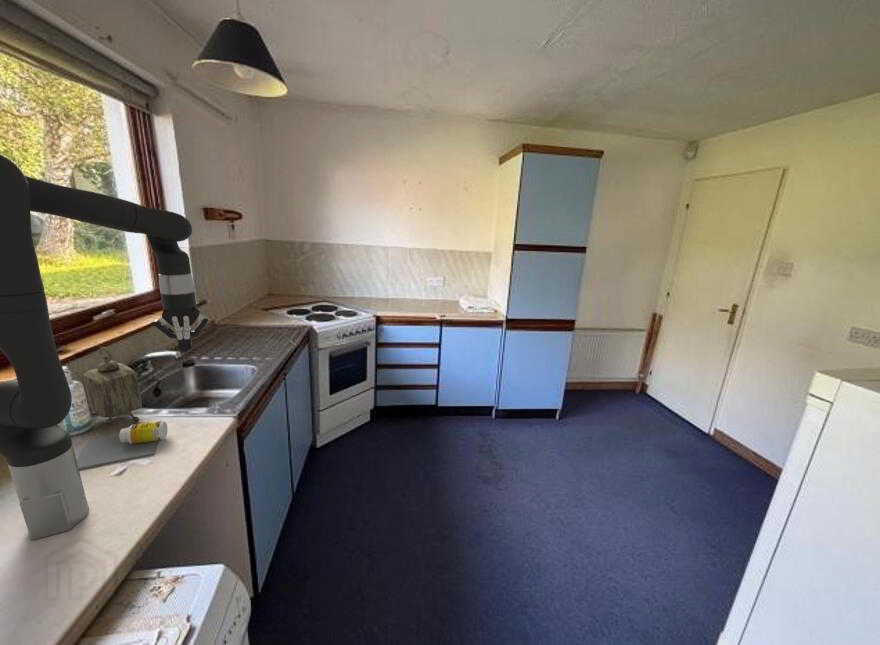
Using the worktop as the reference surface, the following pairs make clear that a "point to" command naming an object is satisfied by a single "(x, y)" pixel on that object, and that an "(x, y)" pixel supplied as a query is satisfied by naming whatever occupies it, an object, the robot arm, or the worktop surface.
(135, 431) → the supplement bottle
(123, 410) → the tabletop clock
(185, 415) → the worktop surface
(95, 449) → the mat
